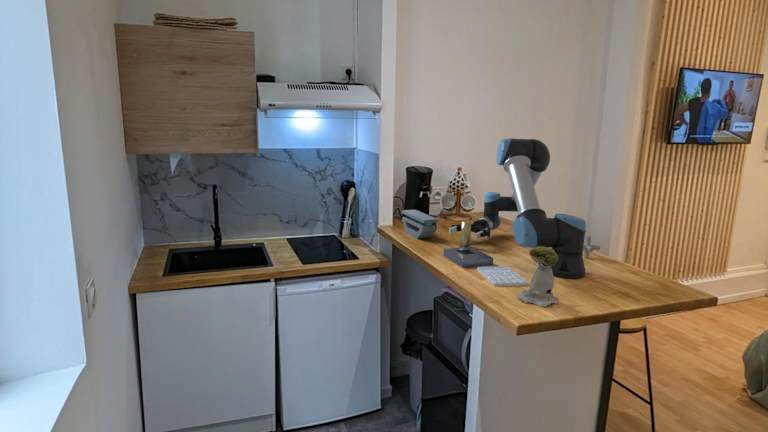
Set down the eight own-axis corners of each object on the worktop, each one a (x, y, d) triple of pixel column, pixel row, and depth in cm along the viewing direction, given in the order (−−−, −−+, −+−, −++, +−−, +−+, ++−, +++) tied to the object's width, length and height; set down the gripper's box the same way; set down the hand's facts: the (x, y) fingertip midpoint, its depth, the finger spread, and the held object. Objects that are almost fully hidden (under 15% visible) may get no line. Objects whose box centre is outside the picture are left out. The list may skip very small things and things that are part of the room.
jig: (493, 265, 200) (493, 258, 200) (462, 267, 196) (463, 260, 195) (471, 253, 217) (472, 246, 216) (443, 255, 212) (443, 248, 212)
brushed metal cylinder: (471, 247, 225) (473, 222, 223) (462, 248, 224) (464, 223, 221) (466, 245, 229) (468, 220, 227) (458, 246, 228) (459, 221, 226)
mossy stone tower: (522, 290, 172) (527, 240, 168) (560, 298, 166) (566, 246, 162) (514, 301, 162) (519, 248, 158) (554, 309, 155) (560, 254, 152)
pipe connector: (594, 255, 219) (596, 234, 217) (601, 261, 209) (604, 239, 207) (571, 254, 220) (574, 232, 218) (578, 260, 210) (580, 238, 208)
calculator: (493, 287, 175) (494, 282, 175) (475, 270, 195) (476, 265, 194) (528, 287, 177) (529, 282, 177) (507, 269, 196) (507, 265, 196)
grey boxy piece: (401, 230, 256) (401, 210, 254) (414, 229, 259) (415, 209, 257) (423, 242, 233) (424, 220, 231) (437, 240, 236) (438, 219, 234)
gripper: (505, 237, 233) (487, 246, 216) (459, 229, 248) (438, 237, 231) (506, 222, 232) (488, 230, 215) (460, 215, 246) (439, 221, 229)
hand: (462, 233), depth 223 cm, fingers open, 13 cm apart
